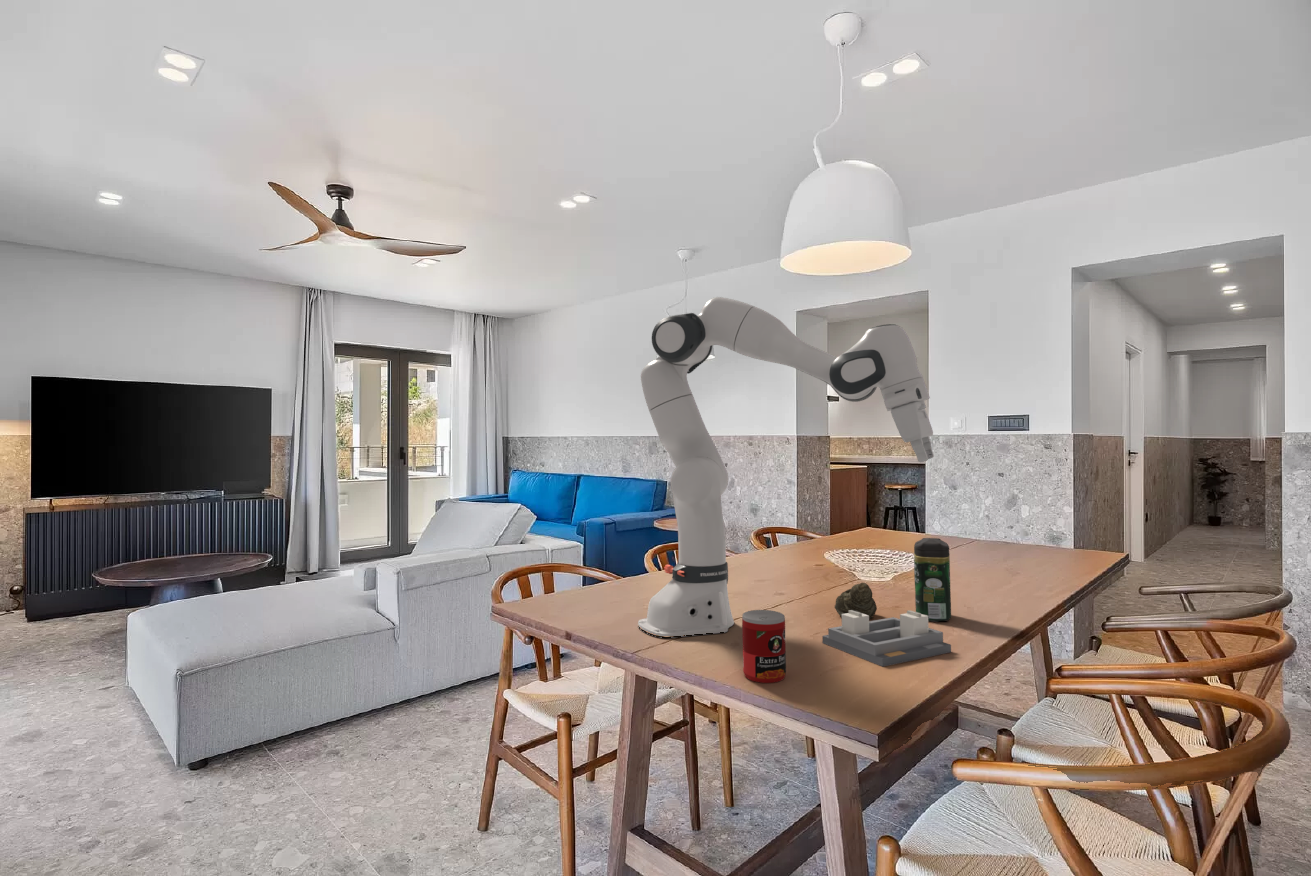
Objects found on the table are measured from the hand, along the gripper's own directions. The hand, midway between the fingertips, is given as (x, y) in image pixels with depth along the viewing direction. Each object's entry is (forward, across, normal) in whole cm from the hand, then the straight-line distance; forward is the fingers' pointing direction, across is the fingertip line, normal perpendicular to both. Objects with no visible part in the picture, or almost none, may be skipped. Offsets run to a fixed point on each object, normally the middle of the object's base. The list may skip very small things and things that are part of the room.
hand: (926, 460), depth 141 cm
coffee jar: (+37, -19, -12) cm, 43 cm away
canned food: (+29, +36, -33) cm, 57 cm away
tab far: (+31, +12, -22) cm, 40 cm away
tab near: (+34, +7, -12) cm, 37 cm away
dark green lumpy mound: (+32, -14, -29) cm, 45 cm away
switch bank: (+34, +10, -18) cm, 40 cm away
